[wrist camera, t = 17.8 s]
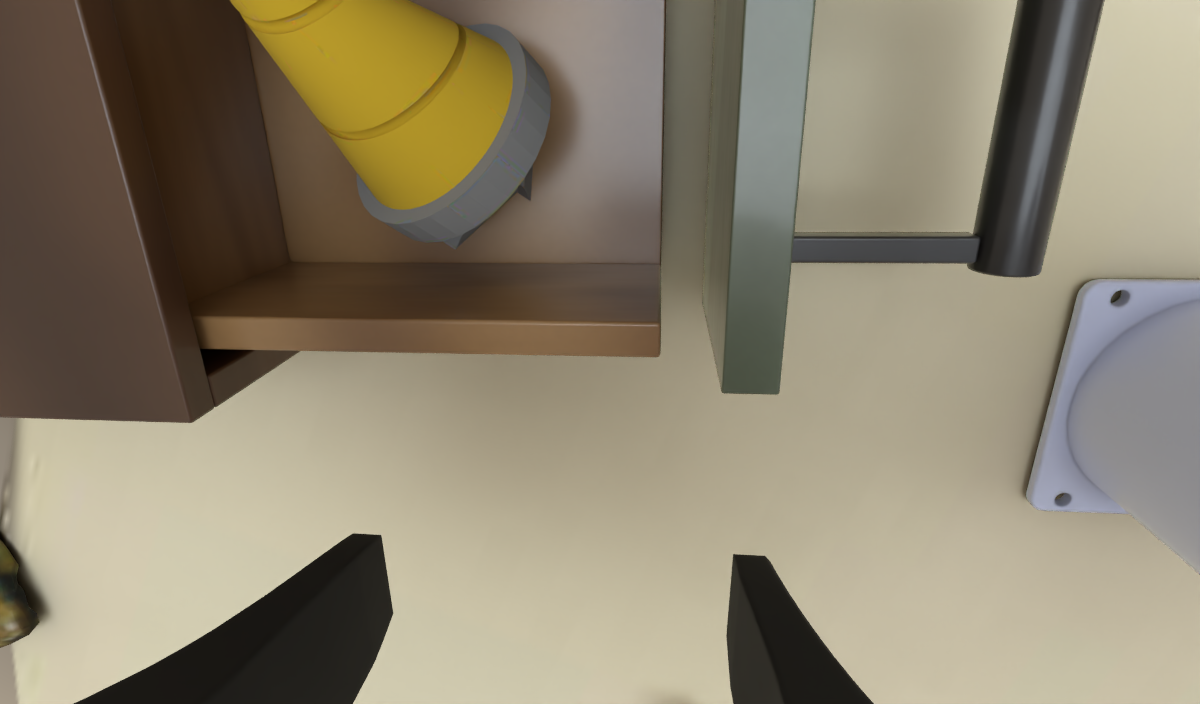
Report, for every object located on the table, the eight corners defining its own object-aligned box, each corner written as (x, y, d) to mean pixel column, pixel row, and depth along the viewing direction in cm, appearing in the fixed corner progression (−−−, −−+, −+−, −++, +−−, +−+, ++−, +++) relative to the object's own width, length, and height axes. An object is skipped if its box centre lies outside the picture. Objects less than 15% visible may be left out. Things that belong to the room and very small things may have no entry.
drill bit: (432, 263, 19) (29, 29, 11) (510, 110, 20) (172, -221, 12) (554, 311, 16) (116, 34, 8) (645, 128, 17) (309, -309, 9)
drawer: (1015, -156, 15) (1272, -350, 9) (933, 305, 19) (1068, 402, 13) (215, -114, 17) (-53, -250, 11) (294, 298, 21) (135, 380, 15)
